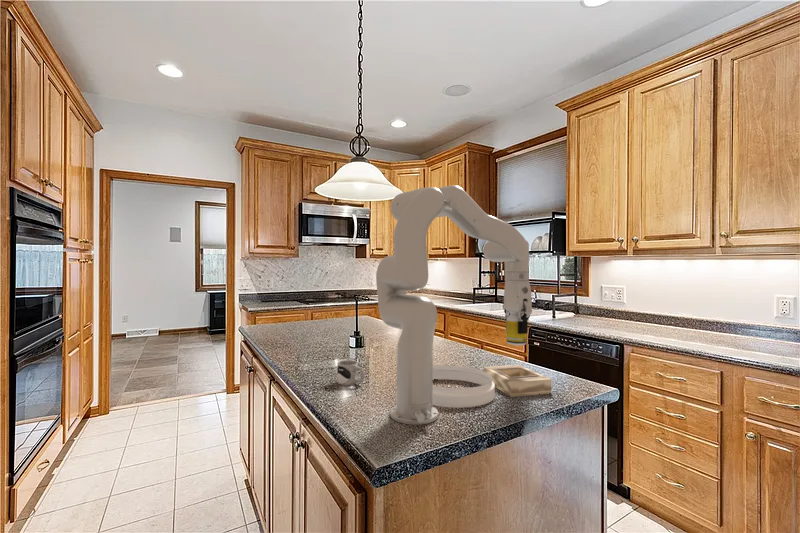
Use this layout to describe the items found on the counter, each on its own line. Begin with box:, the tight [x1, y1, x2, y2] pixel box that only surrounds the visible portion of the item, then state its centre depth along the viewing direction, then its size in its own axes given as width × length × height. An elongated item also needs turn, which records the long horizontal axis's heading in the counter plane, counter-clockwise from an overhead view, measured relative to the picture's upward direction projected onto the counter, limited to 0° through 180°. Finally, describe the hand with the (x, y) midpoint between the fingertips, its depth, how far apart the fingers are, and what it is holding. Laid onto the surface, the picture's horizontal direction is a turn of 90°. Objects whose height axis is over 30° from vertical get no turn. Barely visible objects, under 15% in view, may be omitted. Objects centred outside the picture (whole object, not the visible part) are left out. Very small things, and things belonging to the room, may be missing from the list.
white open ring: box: [432, 364, 496, 409], centre depth 123 cm, size 27×27×6 cm
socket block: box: [483, 364, 552, 398], centre depth 129 cm, size 18×14×5 cm
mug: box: [336, 360, 365, 386], centre depth 130 cm, size 10×7×7 cm, turn 60°
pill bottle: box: [505, 309, 528, 346], centre depth 129 cm, size 6×6×12 cm
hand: (516, 331), depth 129 cm, fingers closed on pill bottle, 6 cm apart
